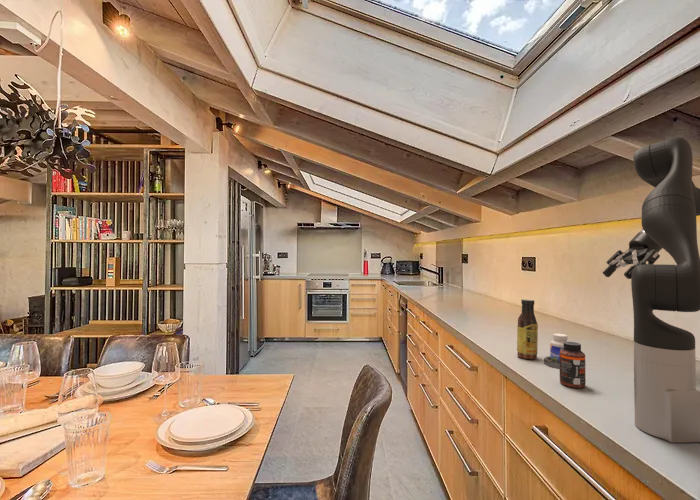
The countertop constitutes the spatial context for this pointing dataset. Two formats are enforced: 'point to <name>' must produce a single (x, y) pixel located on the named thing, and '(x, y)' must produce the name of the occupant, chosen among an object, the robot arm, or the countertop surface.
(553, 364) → the locating collar
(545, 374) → the countertop surface
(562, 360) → the supplement bottle
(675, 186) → the robot arm
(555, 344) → the pill bottle
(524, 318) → the sauce bottle
